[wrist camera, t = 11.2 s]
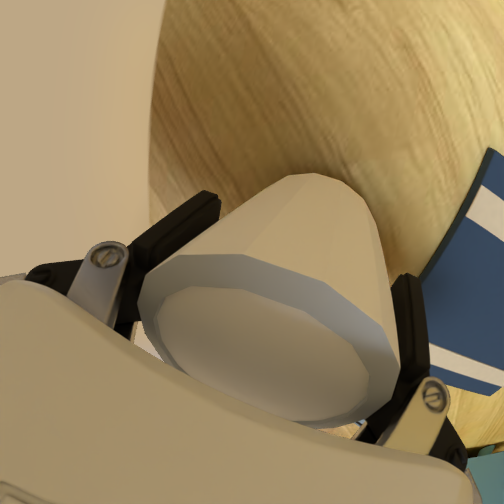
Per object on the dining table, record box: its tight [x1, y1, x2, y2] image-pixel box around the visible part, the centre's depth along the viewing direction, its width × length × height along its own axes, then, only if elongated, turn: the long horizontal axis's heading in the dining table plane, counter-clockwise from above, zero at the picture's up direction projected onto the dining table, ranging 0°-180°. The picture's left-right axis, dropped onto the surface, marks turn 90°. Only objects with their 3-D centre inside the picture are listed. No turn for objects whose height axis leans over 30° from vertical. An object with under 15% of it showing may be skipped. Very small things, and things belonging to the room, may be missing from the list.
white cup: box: [137, 173, 400, 429], centre depth 9 cm, size 7×7×7 cm
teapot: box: [466, 445, 504, 504], centre depth 17 cm, size 22×11×14 cm, turn 102°
